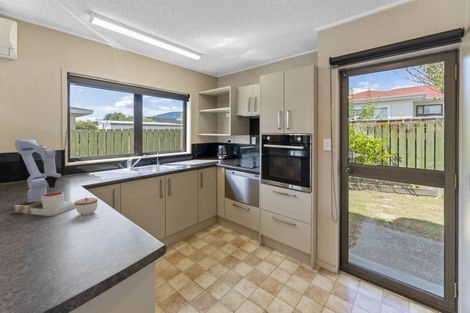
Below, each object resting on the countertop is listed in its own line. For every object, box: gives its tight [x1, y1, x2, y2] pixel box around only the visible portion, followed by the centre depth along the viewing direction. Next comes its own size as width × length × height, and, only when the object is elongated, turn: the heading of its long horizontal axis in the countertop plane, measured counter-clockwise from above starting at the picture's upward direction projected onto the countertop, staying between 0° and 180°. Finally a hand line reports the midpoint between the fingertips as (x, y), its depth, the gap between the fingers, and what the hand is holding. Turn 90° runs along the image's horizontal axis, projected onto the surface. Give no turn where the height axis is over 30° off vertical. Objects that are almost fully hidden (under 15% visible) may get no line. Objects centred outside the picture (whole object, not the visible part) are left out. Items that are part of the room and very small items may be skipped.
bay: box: [13, 198, 43, 215], centre depth 134 cm, size 12×15×4 cm
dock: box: [30, 201, 76, 217], centre depth 131 cm, size 15×15×3 cm
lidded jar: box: [74, 196, 99, 216], centre depth 125 cm, size 11×11×9 cm
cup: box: [42, 191, 65, 210], centre depth 131 cm, size 10×10×10 cm
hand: (52, 187), depth 145 cm, fingers closed
